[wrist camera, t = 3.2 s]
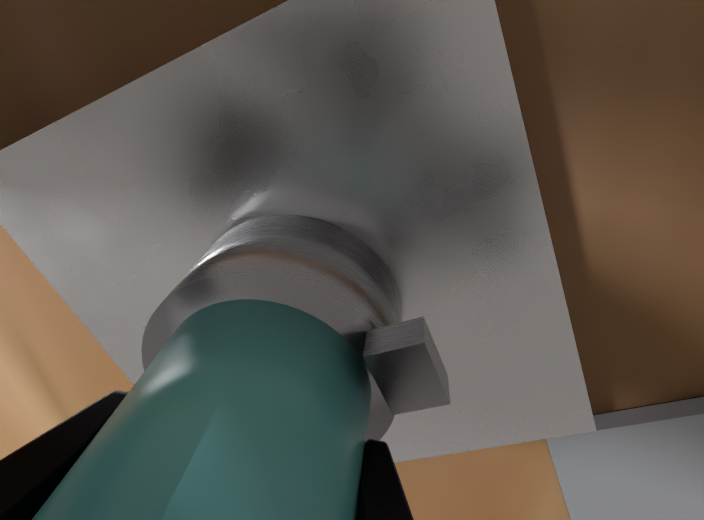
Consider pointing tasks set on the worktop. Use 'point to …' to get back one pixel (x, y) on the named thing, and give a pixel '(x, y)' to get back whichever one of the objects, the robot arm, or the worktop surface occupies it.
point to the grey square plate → (323, 212)
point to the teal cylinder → (231, 426)
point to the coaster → (635, 464)
